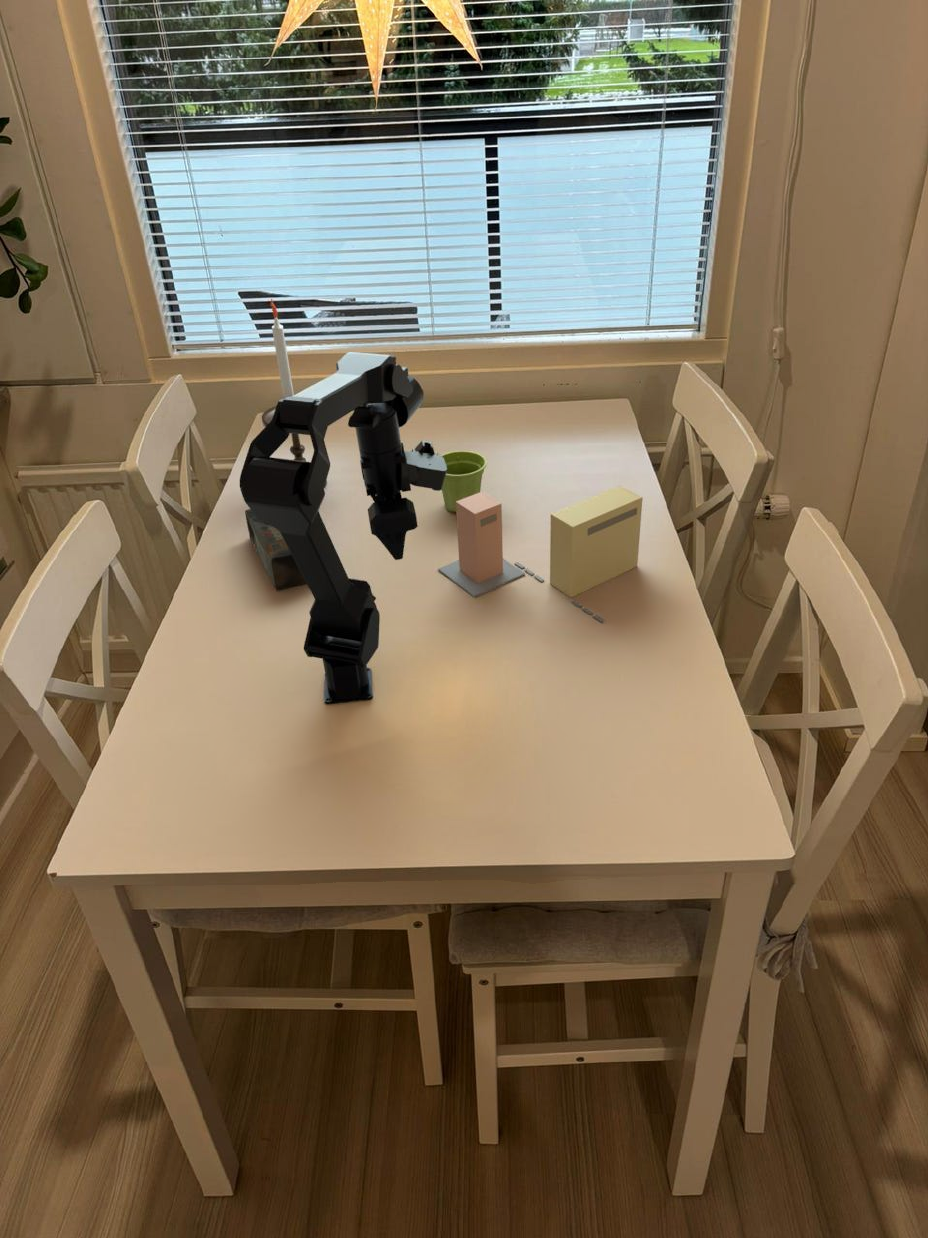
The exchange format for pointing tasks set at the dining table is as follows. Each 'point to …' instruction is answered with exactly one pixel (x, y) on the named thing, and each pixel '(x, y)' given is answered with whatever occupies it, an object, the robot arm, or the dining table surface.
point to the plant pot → (462, 476)
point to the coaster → (479, 588)
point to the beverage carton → (273, 553)
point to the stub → (480, 536)
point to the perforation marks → (571, 601)
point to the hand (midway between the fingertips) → (395, 541)
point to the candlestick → (283, 383)
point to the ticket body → (594, 540)
